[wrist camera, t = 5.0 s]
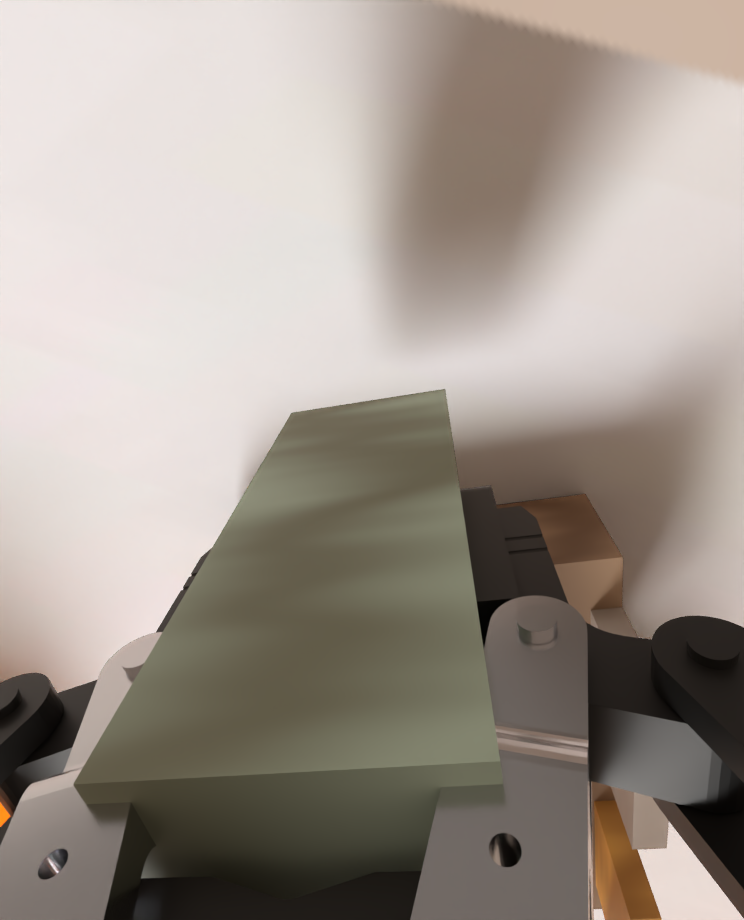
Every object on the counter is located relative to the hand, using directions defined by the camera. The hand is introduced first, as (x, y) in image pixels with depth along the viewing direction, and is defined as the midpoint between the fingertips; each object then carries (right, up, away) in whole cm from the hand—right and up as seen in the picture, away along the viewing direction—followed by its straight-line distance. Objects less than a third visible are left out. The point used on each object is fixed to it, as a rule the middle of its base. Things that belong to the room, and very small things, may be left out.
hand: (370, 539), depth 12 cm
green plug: (0, +1, +3) cm, 3 cm away
